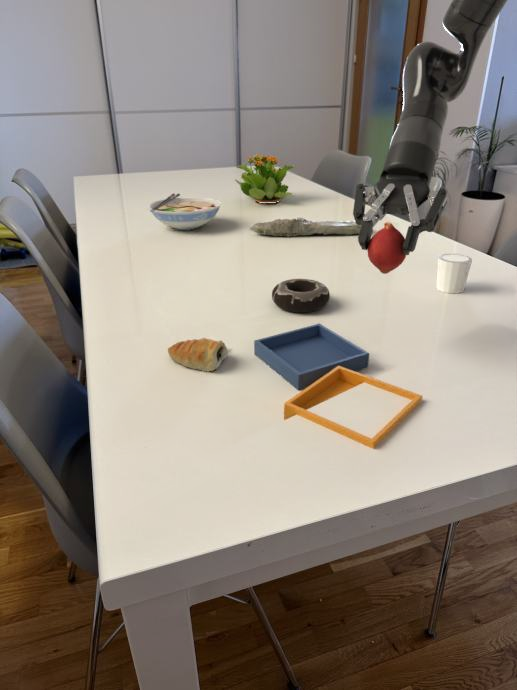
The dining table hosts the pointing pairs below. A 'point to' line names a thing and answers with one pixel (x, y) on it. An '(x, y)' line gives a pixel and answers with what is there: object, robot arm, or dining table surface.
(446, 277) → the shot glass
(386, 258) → the onion
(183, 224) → the ramen bowl
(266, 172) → the potted flower
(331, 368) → the blue tray
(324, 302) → the donut
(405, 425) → the dining table surface
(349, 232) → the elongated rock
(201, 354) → the pastry
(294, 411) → the amber tray
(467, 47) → the robot arm
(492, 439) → the dining table surface
